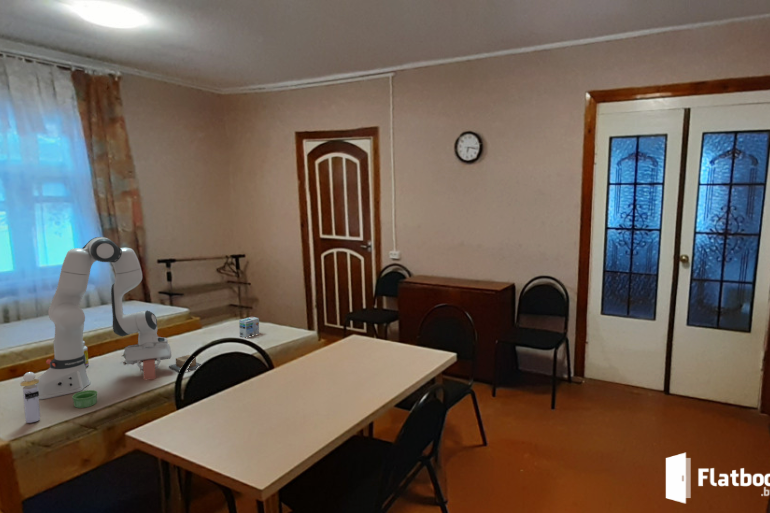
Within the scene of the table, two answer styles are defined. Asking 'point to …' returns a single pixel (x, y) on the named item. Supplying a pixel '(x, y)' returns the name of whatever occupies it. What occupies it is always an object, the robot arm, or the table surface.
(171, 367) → the tower base
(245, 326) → the light bulb box
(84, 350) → the supplement bottle
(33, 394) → the perfume bottle
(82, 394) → the ramekin
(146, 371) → the red block
